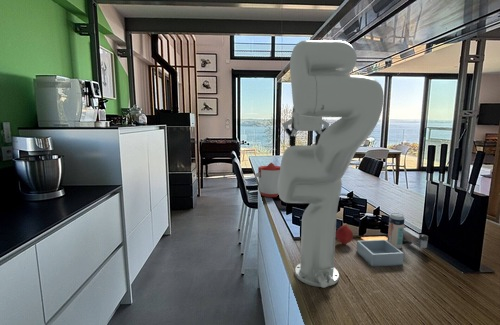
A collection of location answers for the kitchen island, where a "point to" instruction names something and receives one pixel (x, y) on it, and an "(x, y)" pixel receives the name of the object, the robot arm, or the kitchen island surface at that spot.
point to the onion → (344, 234)
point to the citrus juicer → (268, 180)
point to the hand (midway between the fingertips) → (305, 147)
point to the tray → (379, 253)
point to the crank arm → (415, 238)
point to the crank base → (382, 239)
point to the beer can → (396, 229)
